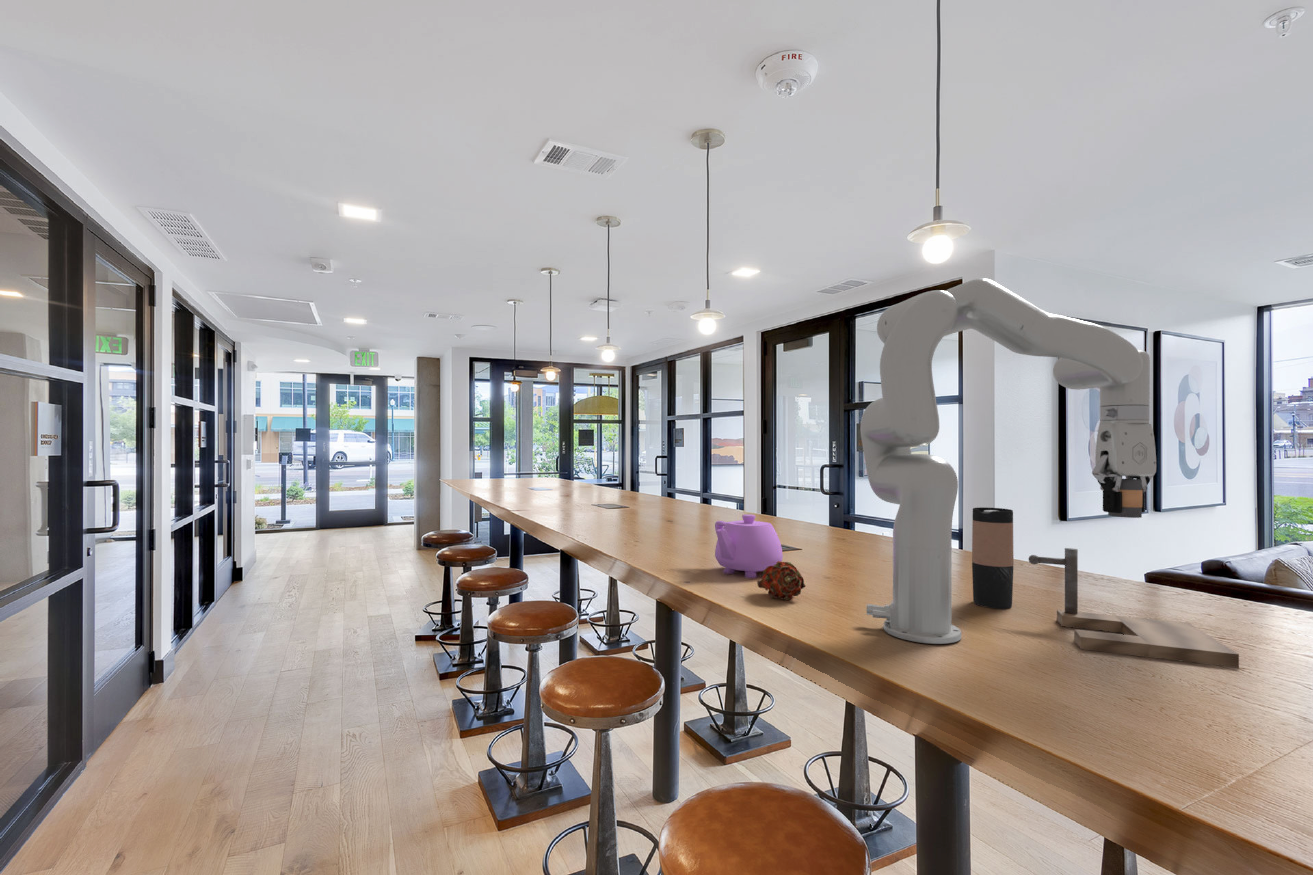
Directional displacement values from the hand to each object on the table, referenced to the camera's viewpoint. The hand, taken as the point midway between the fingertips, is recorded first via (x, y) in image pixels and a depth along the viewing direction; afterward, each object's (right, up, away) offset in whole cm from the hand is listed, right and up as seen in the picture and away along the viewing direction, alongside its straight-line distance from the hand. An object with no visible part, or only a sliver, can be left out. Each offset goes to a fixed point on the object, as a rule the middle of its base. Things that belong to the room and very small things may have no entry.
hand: (1123, 511), depth 114 cm
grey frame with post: (-8, -21, -10) cm, 25 cm away
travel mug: (-18, -21, +13) cm, 31 cm away
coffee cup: (0, -1, 0) cm, 1 cm away
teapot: (-67, -21, +42) cm, 82 cm away
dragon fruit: (-61, -21, +17) cm, 67 cm away
